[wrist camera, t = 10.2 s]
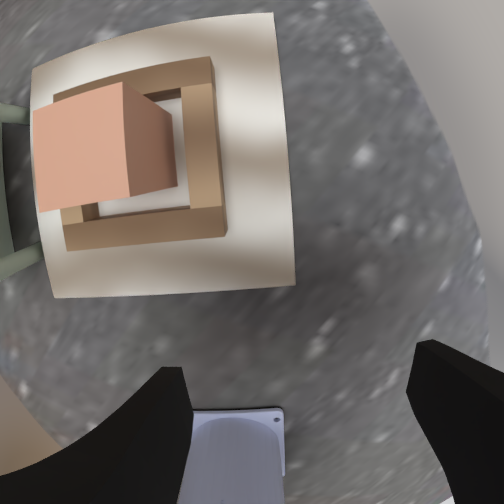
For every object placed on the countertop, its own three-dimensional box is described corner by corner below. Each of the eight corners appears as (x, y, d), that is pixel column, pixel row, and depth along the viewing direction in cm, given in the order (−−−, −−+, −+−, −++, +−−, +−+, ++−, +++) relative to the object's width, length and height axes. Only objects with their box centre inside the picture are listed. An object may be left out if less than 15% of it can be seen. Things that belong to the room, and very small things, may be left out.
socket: (293, 279, 19) (300, 298, 16) (61, 292, 19) (38, 309, 16) (271, 19, 15) (275, -4, 12) (40, 71, 15) (15, 62, 12)
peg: (177, 186, 16) (129, 197, 10) (112, 195, 16) (39, 212, 10) (171, 114, 15) (122, 81, 9) (106, 127, 15) (32, 111, 9)
